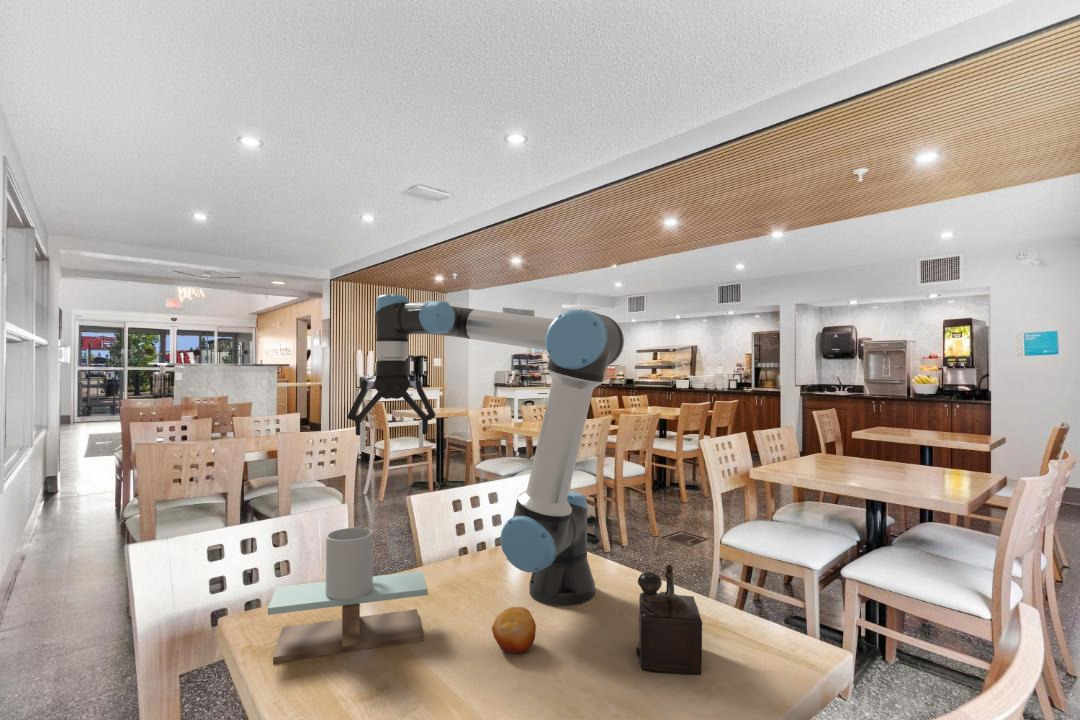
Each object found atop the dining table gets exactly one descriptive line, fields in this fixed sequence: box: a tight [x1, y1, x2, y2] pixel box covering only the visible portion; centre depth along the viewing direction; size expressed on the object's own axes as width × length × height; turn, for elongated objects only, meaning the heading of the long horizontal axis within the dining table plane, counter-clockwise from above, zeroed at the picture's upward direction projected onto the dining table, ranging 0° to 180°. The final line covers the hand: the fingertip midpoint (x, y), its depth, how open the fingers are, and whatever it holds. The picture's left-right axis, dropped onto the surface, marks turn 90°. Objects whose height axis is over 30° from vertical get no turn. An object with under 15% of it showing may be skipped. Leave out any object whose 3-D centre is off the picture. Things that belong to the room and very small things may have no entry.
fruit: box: [491, 606, 537, 654], centre depth 103 cm, size 8×8×8 cm
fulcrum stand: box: [272, 603, 424, 664], centre depth 107 cm, size 26×12×8 cm, turn 108°
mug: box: [325, 527, 374, 600], centre depth 107 cm, size 12×8×11 cm
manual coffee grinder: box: [635, 564, 703, 676], centre depth 96 cm, size 16×11×18 cm
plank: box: [267, 570, 429, 616], centre depth 107 cm, size 28×10×1 cm, turn 108°
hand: (392, 448), depth 132 cm, fingers open, 13 cm apart
